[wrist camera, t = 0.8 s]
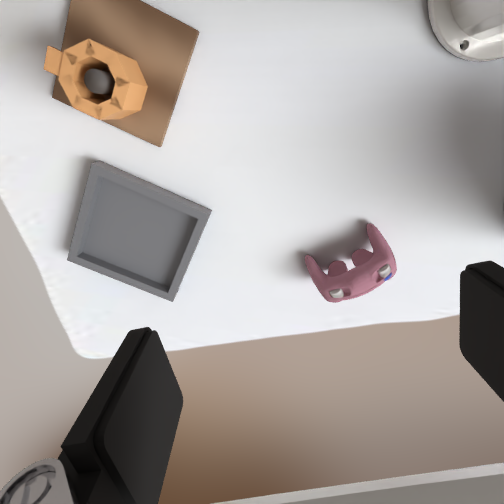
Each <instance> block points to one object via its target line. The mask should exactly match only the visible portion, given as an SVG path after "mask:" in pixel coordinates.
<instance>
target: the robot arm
mask: <svg viewBox="0 0 504 504" xmlns="http://www.w3.org/2000/svg"><path fill="white" fill-rule="evenodd" d="M427 4H428V13H429V19H430V22H431V26H432V29H433V32H434V33H435V35H436V37H437V39H438V40H439V42H440V43H441V44H442V45H443V46H444V47H445V49H446V50H447V51H449V52H450V53H452V54H453V55H455V56H456V57H459V58H462V59H465V60H467V61H477V62H482V61H491V60H495V59H499V58H504V0H428V3H427ZM460 44H461V46H462V47H461V49H460ZM460 349H461V352H462V354H463V356H464V357H465V359H466V360H467V361H468V362H469V363H470V364H471V365H472V367H473V368H474V369H475V370H476V371H477V372H478V373H479V374H480V376H481V377H482V378H483V379H484V380H485V381H486V382H487V384H488V385H489V386H490V387H491V388H492V389H493V390H494V391H495V392H496V394H497V395H498V396H499V397H500V398H501V399H502V400H503V401H504V268H503V267H501V266H500V265H498V264H496V263H495V262H493V261H485V262H480V263H475V264H469V265H468V266H467V267H466V269H465V271H462V272H461V274H460ZM182 406H183V396H182V392H181V390H180V387H179V385H178V382H177V380H176V377H175V375H174V373H173V370H172V368H171V365H170V363H169V360H168V358H167V355H166V353H165V350H164V348H163V345H162V343H161V340H160V338H159V335H158V333H157V332H156V331H155V330H154V331H152V330H151V329H150V328H149V327H145V328H140V329H135V330H131V331H129V332H128V334H127V336H126V337H125V339H124V341H123V342H122V344H121V346H120V347H119V349H118V351H117V352H116V354H115V356H114V357H113V359H112V361H111V363H110V364H109V366H108V368H107V369H106V371H105V373H104V374H103V376H102V378H101V379H100V381H99V383H98V384H97V386H96V388H95V389H94V391H93V393H92V395H91V396H90V398H89V400H88V401H87V403H86V405H85V406H84V408H83V410H82V411H81V413H80V415H79V416H78V418H77V420H76V421H75V423H74V425H73V426H72V428H71V430H70V432H69V433H68V435H67V437H66V438H65V440H64V442H63V444H62V445H61V448H62V449H63V451H62V452H61V454H60V456H59V457H58V459H54V458H48V459H43V460H40V461H37V462H35V463H33V464H31V465H29V466H28V467H26V468H24V469H23V470H22V471H20V472H19V473H18V474H16V475H15V476H14V477H13V478H12V479H11V480H10V481H9V482H8V483H7V484H6V485H5V486H4V487H3V488H2V490H1V491H0V504H158V501H159V497H160V493H161V489H162V485H163V481H164V477H165V473H166V469H167V465H168V461H169V457H170V453H171V449H172V446H173V442H174V438H175V434H176V429H177V426H178V422H179V418H180V414H181V410H182ZM214 504H504V463H498V464H491V465H483V466H476V467H469V468H462V469H453V470H446V471H439V472H431V473H424V474H417V475H410V476H403V477H395V478H388V479H381V480H373V481H366V482H359V483H352V484H345V485H339V486H331V487H324V488H317V489H310V490H303V491H296V492H289V493H281V494H275V495H268V496H261V497H255V498H248V499H241V500H234V501H227V502H220V503H214Z"/></svg>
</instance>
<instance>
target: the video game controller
mask: <svg viewBox="0 0 504 504" xmlns="http://www.w3.org/2000/svg"><path fill="white" fill-rule="evenodd" d="M367 233H368V237H369V240H370V243H371V245H372V248H373V253H372V252H369V251H367V250H365V249H358V250H356V251H355V252H354V253H353V254H352V256H351V259H352V261H353V263H354V265H355V266H356V267H355V268H353V269H351V270H349V271H348V269H347V267H346V264H345V263H344V262H343V261H340V260H338V261H334V262H332V263H331V264H330V265H329V269H328V275H326V274H325V273H324V272H323V271H322V270H321V268H320V267H319V265H318V264H317V263H316V261H315V260H314V259H313V258H312V257H311V256H310V255H306V256H305V263H306V266H307V269H308V271H309V273H310V276H311V278H312V280H313V282H314V284H315V285H316V287H317V288H318V290H319V292H320V293H321V294H322V296H323V297H324V298H325V299H326V300H327V301H329V302H340V301H342V300H348V299H352V298H356V297H359V296H361V295H364V294H366V293H368V292H370V291H372V290H374V289H375V288H377V287H378V286H380V285H381V284H382V283H384V282H385V281H386V280H389V279H390V278H392V277H393V276H394V275H395V273H396V270H397V267H396V262H395V258H394V255H393V253H392V250H391V248H390V247H389V245H388V243H387V242H386V240H385V239H384V237H383V236H382V234H381V233H380V231H379V230H378V229H377V228H376V227H375V226H374V225H373V224H371V223H369V224H367Z"/></svg>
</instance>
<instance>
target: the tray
mask: <svg viewBox="0 0 504 504" xmlns="http://www.w3.org/2000/svg"><path fill="white" fill-rule="evenodd" d="M211 211H212V210H210V209H208V208H205V207H203V206H201V205H199V204H196V203H194V202H192V201H190V200H187V199H185V198H183V197H181V196H178V195H176V194H174V193H172V192H169V191H167V190H165V189H163V188H160V187H158V186H156V185H154V184H151V183H149V182H147V181H145V180H142V179H140V178H138V177H136V176H133V175H131V174H129V173H127V172H124V171H122V170H120V169H118V168H115V167H113V166H111V165H109V164H106V163H104V162H102V161H97V162H94V163H92V164H91V168H90V172H89V176H88V180H87V184H86V188H85V192H84V196H83V200H82V203H81V207H80V211H79V215H78V219H77V223H76V227H75V231H74V235H73V239H72V243H71V246H70V250H69V254H68V258H67V260H68V261H70V262H73V263H75V264H78V265H81V266H83V267H86V268H88V269H91V270H93V271H96V272H98V273H101V274H103V275H106V276H108V277H111V278H113V279H116V280H118V281H121V282H124V283H126V284H129V285H131V286H134V287H136V288H139V289H141V290H144V291H146V292H149V293H151V294H154V295H156V296H159V297H161V298H164V299H167V300H169V301H172V302H173V300H174V298H175V296H176V294H177V292H178V289H179V287H180V285H181V282H182V280H183V277H184V275H185V273H186V270H187V268H188V266H189V263H190V261H191V259H192V256H193V254H194V251H195V249H196V247H197V244H198V242H199V240H200V237H201V235H202V233H203V230H204V228H205V226H206V223H207V221H208V218H209V216H210V214H211Z"/></svg>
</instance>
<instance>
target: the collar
mask: <svg viewBox="0 0 504 504" xmlns="http://www.w3.org/2000/svg"><path fill="white" fill-rule="evenodd" d="M107 67H109V69H110V71H111V73H112V75H113V77H114V79H115V86H114V90H113V94H112V98H111V99H109V100H106V99H105V98H104V95H103V94H97V93H93V92H91V91H90V90H89V89H88V88H87V87H86V85H85V82H84V75H85V73H86V72H87V71H88V70H89V69H98V70H101V71H102V70H103V69H105V68H107ZM44 70H46V71H48V72H51V73H53V74H55V75H57V76H59V79H58V80H59V82H60V84H61V86H62V87H63V89H64V91H65V93H66V95H67V97H68V99H69V101H70V103H71V104H72V106H73V108H75V109H77V110H79V111H81V112H83V113H86V114H88V115H90V116H92V117H94V118H96V119H99V120H110V119H122V118H124V117H126V116H129V115H131V114H133V113H136V112H138V111H140V110H141V108H142V105H143V101H144V98H145V95H146V91H147V88H148V86H147V84H146V81H145V79H144V77H143V75H142V72H141V70H140V68H139V65H138V63H137V61H136V60H134V59H132V58H130V57H128V56H125V55H123V54H121V53H119V52H117V51H115V50H113V49H111V48H109V47H107V46H104V45H102V44H100V43H97V42H95V41H93V40H91V39H87V40H85V41H83V42H80V43H78V44H76V45H74V46H72V47H70V48H68V49H66V50H64V52H62V51H60V50H58V49H56V48H54V47H51V46H48V47H47V53H46V58H45V64H44Z"/></svg>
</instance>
